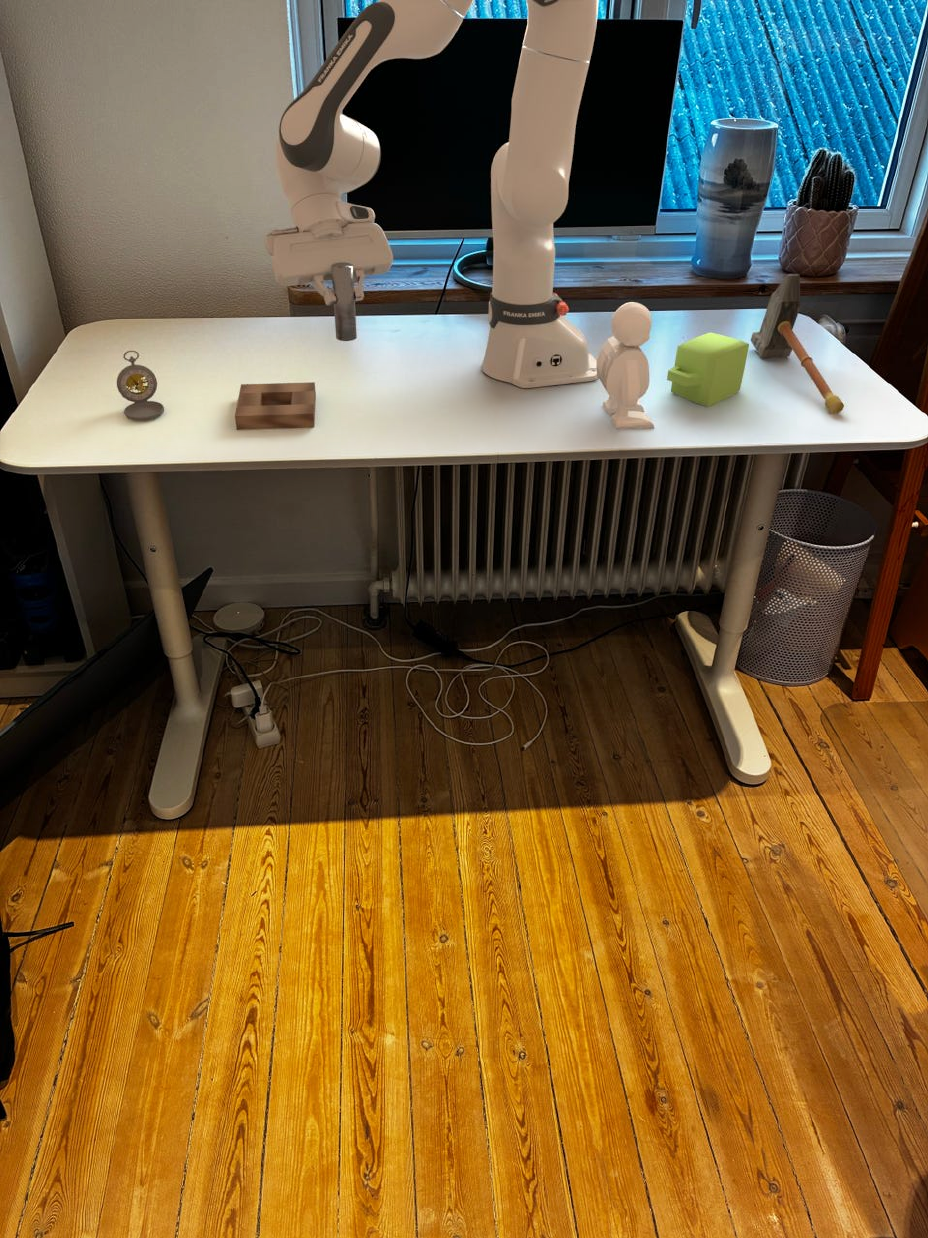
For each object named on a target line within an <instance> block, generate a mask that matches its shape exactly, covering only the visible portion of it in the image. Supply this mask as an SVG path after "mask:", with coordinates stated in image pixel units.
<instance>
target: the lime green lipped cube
mask: <svg viewBox="0 0 928 1238" xmlns="http://www.w3.org/2000/svg"><path fill="white" fill-rule="evenodd" d="M749 346H750V343H748V342H746V341H743V340H740V339H737V338H733V337H730V336H726V335H723V334H719V333H714V332H707V333H704V334H702V335H699V336H696V337H694V338H692V339H690V340H688V341H686V342H683V343H681V344H679V345H677V349H676V354H675V361H674V366H673V367H672V368H670V369H668V370H667V374H666V375H667V376H666V380H667V381H669V382H671V386H670V387H671V389H670V392H671V393H673V394H675V395H677V396H680V397H682V398H684V399H686V400H689V401H691V402H693V403H696V404H699V405H702V406H704V407H705V406H706V407H710V406H712V405H715V404H717V403H719V402H721V401H723V400H725V399H727V398H729V397H731V396H733V395H734V394H736V393H738V392H739V391H741V388H742V382H743V377H744V373H745V367H746V363H747V359H748V353H749Z"/></svg>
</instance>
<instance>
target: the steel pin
mask: <svg viewBox="0 0 928 1238" xmlns="http://www.w3.org/2000/svg"><path fill="white" fill-rule="evenodd" d="M331 268H332V280H331V281H332V290H334V293H335V294H334V295H335V296H336V302H335V304H333V309H334V310H333V311H334V328H335V338H336V340H337V341H341V342H351V341H354V340H356V339H357V337H358V336H357V318H356V301H355V296H354V287H355V282H354V277H353V265H352V264H350V263H344V262H341V263H335V264H332V265H331Z"/></svg>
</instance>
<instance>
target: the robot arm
mask: <svg viewBox="0 0 928 1238" xmlns="http://www.w3.org/2000/svg"><path fill="white" fill-rule="evenodd" d="M474 1H475V0H377V1H376V2H372V3H370V4H369V5H367V6H366V7H364V9H363V10H362V11H361V12H359V14H358V15H357V17H355V19H354V20H353V21H352V23H351V24H350V25H349V27H347V28H346V29H347V30H345V33H343V35H342V37H341V38H340V39H339V41H338V43H336V45H335V47H334V48H333V49H332V51H331V52H330V54H329V55H328V56H327V58H326V59H325V61H324V62H323V64H322V65H321V67H320V68H319V69H318V71H317V73H316V74H315V75H314V77H313V78H312V79H311V81H310V82H309V83H308V85H307V86H306V87H305V88H304V89H303V90H302V91H301V92H300V94H299V95H298V96H296V97H295V98H294V99H293V100H292V101H291V102H290V103H289V105H287V107H286V109H285V110H284V112H283V113H282V116H281V118H280V121H279V127H278V138H277V139H276V140H277V141H276V145H275V162H276V167H277V173H278V176H279V180H280V184H281V186H282V190H283V193H284V195H285V197H286V198H287V200H288V202H289V205H290V206H289V207H290V208H289V209H290V216H291V219H292V223H293V227H286V228H282V229H278V228H277V229H276V228H275V229H272V230H270V232H268V233H267V234H266V235H265V237H264V241H263V242H264V245H265V249H266V252H267V253H268V254H269V255H270V256H271V265H272V270H273V274H274V279H275V281H276V283H277V284H278V285H280V286H281V287H283V288H285V287H290V286H291V287H292V286H299V285H307V284H312V286H313V289H314V290H315V291H316V292H317V293H318V294H319V295H320V296H321V297H323V300H324V303H325V305H326V306H331V305H334V304H335V302H336V296H335V295H334V294H335V293H334V290H333V289H331V290H329V289H328V287H326V285H325V284H324V282H328V281H329V282H330V281H332V268H331V265H332V264H335V263H341V262H344V263H350V264H352V265H353V277H354V284H355V283H356V286H354V296H355V302H358V301H360V302H361V301H363V300H364V298H365V294H364V290H363V283H364V280H365V277H367V276H374V275H381V274H382V275H383V274H387V273H388V272H389V271H390V269H391V267H392V265H393V263H394V255H393V251H392V248H391V246H390V242H389V241H388V238H387V236H386V234H385V232H384V230H383V228H382V227H381V226H380V225H379V224H377V223H375V219H376V214H375V212H374V210H373V209H372V208H371V207H367V206H362V205H357V204H353V203H350V202H346V201H343V200H342V195H344V194H345V195H346V194H349V193H351V192H353V191H355V190H358V189H359V188H361V187H363V186H365V185H367V183H369V182H370V181H371V180H372V179H373V178H374V176H375V175H376V173H377V172H378V169H379V167H380V164H381V156H382V153H381V152H382V151H381V150H382V149H381V145H380V140H379V137H378V136H377V134H376V132H374V131H373V130H371V128H368V127H367V126H365V125H364V124H362V123H360V122H358V121H357V120H356V119H353V118H352V117H348V116H347V115H345V114H343V113H342V112H343V110H344V109H345V107H346V105H347V104H348V103H349V101H351V98H352V97H353V95H354V94H355V93H356V92H357V90H358V89H359V87H360V86H361V84H362V83H363V82H364V80H365V79H366V77H367V76H368V74H369V73H370V72H371V70H373V69H374V68H375V67H377V66H378V65H380V64H381V63H383V62H385V61H388V60H394V59H412V60H422V59H427V58H431V57H434V56H436V55H438V54H440V53H441V52H442V51H444V49H445V48H446V47H447V46H448V45H449V44H450V42H451V41H452V39H453V38H454V36H455V34H456V33H457V32H458V30H459V28H460V26H461V25H462V23H463V22H464V21H463V20H464V19H465V17H466V15H467V13H468V11H469V10H470V8H471V6H472V5H473V2H474ZM525 1H526V6H527V25H526V29H525V33H524V38H523V42H522V47H521V53H520V57H519V62H518V67H517V73H516V77H515V82H514V87H513V92H512V97H511V111H510V112H511V114H510V127H509V138H508V142H506V143H504V144H503V145H501V147H499V149H498V150H497V152H496V153H495V155H494V157H493V161H492V163H491V170H490V179H491V180H490V181H491V182H490V189H491V190H490V195H491V197H490V198H491V200H490V201H491V222H492V223H491V224H492V242H493V243H492V244H493V257H492V258H493V259H492V260H493V261H492V263H493V264H492V292H490V294H489V301H488V324H489V333H488V337H487V339H488V340H487V342H486V343H487V344H486V349H485V353H484V356H483V359H482V363H481V365H480V367H481V370H482V372H483V373H485V374H486V375H487V376H488V377H491V378H492V379H495V380H498V381H502V382H506V383H509V384H512V385H514V386H517V387H519V388H522V389H531V388H532V389H533V388H539V387H548V386H556V385H557V386H558V385H566V384H574V383H585V382H592V381H595V380H597V379H599V377H598V375H597V369H596V366H597V359H596V358H595V357H594V356H593V354H591V353H589V347H588V341H587V338H586V336H585V335H584V333H583V332H582V331H581V330H580V329H579V328H578V327H577V326H575V324H574V323H572V322H571V321H570V320H568V319H567V318H566V317H565V316H566V315H567V314H569V311H570V309H569V306H568V304H567V303H566V302H565V301H563V299H562V298H561V297H560V296H559V295H558V294H557V293H556V292H553V290H554V289H553V288H554V277H555V275H554V274H555V262H556V261H555V260H556V245H555V236H554V223H555V222H556V221H558V219H559V218H561V216H562V214H563V213H564V212H565V210H566V208H567V205H568V200H569V182H570V176H571V171H572V170H571V169H572V162H573V155H574V148H575V147H574V145H575V137H576V136H575V135H576V128H577V127H576V125H577V120H578V114H579V109H580V105H581V101H582V96H583V92H584V87H585V85H586V84H585V83H586V80H587V79H586V78H587V75H588V71H589V67H590V61H591V58H592V57H591V56H592V54H593V50H594V48H593V47H594V42H595V37H596V30H597V22H598V12H599V0H525Z"/></svg>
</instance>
